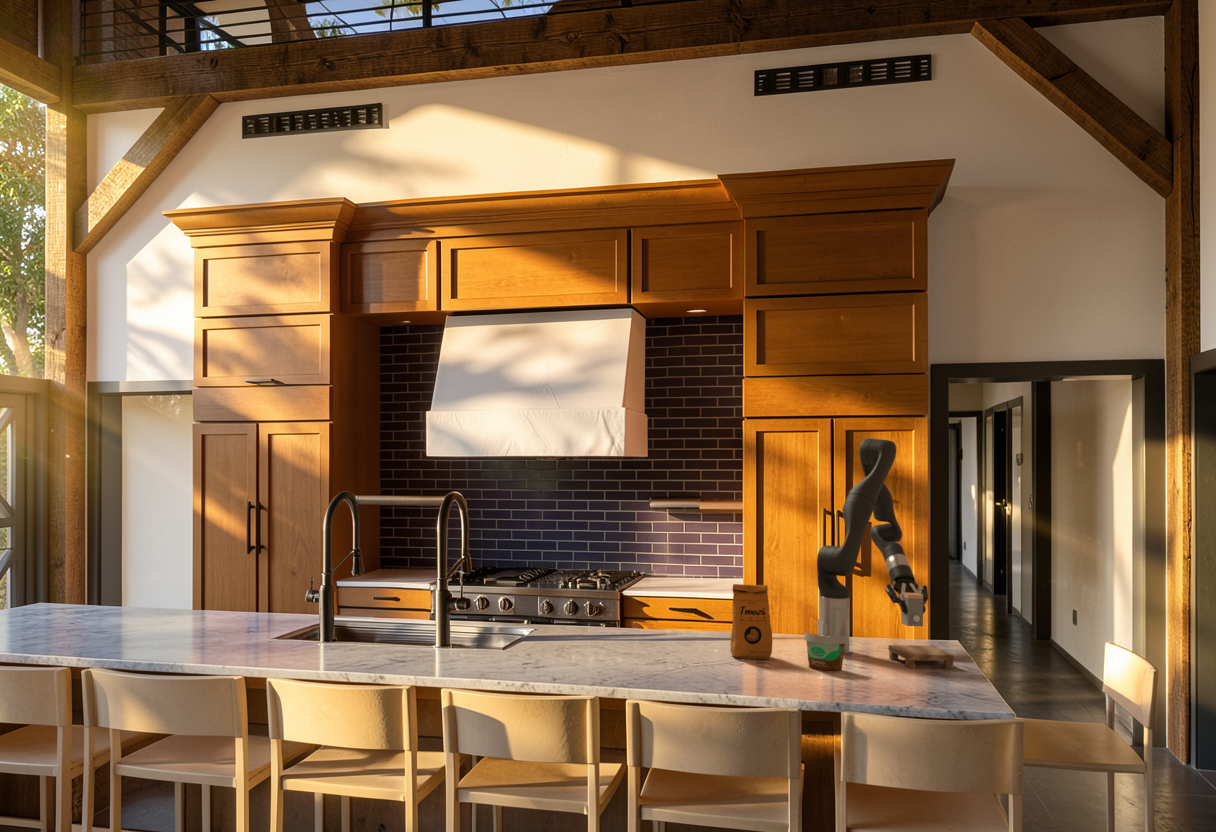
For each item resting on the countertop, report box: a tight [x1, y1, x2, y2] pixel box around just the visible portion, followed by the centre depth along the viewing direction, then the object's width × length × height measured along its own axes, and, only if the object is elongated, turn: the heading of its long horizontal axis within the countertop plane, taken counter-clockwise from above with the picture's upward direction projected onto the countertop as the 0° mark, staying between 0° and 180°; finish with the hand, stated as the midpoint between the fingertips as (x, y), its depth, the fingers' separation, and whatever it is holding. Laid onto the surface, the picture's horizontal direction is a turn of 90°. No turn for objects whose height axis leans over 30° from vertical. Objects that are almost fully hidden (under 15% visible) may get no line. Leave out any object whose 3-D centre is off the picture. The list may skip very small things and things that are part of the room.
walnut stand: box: [888, 644, 955, 670], centre depth 258 cm, size 14×14×4 cm
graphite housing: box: [900, 592, 924, 627], centre depth 278 cm, size 5×6×10 cm
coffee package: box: [730, 583, 773, 660], centre depth 262 cm, size 10×12×22 cm
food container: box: [803, 630, 847, 673], centre depth 247 cm, size 12×6×10 cm, turn 62°
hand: (914, 612), depth 276 cm, fingers closed on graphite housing, 5 cm apart
